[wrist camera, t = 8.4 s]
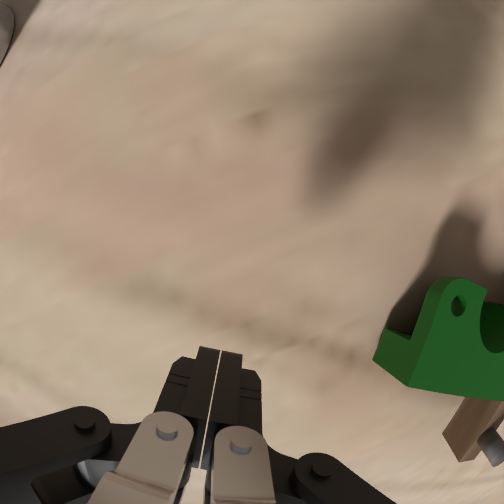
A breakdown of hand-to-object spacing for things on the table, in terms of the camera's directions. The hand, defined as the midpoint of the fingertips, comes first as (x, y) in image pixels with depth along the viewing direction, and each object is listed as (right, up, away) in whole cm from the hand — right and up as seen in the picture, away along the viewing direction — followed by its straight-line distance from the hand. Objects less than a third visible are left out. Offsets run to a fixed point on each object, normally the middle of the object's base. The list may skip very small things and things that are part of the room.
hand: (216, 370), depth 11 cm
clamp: (+15, -1, +8) cm, 17 cm away
